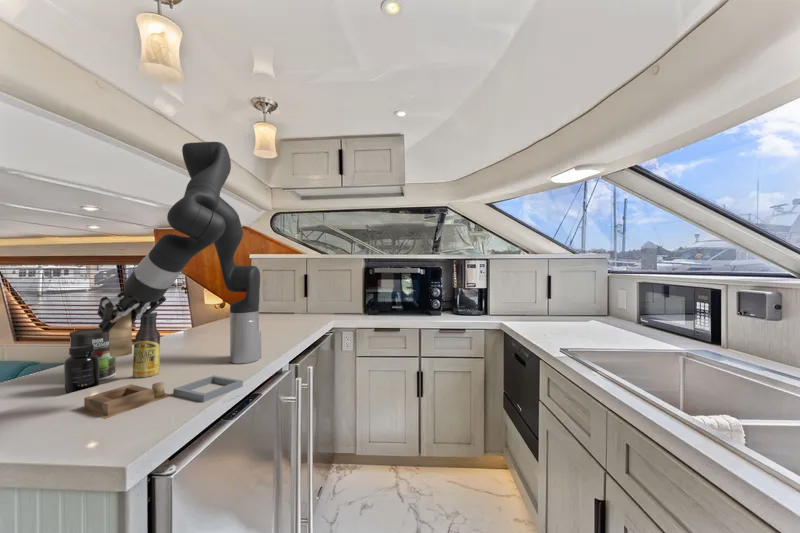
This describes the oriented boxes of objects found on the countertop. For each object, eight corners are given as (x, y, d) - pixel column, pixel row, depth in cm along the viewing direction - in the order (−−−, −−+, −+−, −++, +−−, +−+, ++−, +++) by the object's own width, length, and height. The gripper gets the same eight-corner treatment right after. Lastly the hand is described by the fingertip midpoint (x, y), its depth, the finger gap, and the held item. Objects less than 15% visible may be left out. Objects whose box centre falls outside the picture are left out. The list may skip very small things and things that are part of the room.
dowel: (125, 351, 80) (124, 296, 80) (136, 353, 79) (134, 297, 78) (105, 355, 76) (104, 298, 76) (115, 357, 75) (114, 299, 75)
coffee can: (120, 376, 102) (120, 329, 102) (73, 386, 94) (73, 335, 94) (111, 370, 108) (110, 326, 108) (66, 378, 100) (66, 331, 100)
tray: (213, 386, 93) (213, 375, 93) (242, 392, 89) (242, 380, 89) (173, 400, 83) (173, 388, 83) (203, 408, 79) (203, 395, 79)
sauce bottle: (128, 384, 95) (127, 314, 95) (139, 377, 101) (138, 311, 101) (155, 382, 96) (154, 313, 96) (164, 375, 102) (163, 310, 102)
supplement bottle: (64, 390, 90) (64, 345, 90) (98, 384, 95) (98, 341, 95) (64, 397, 86) (63, 350, 86) (100, 390, 90) (99, 345, 90)
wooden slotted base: (146, 394, 87) (145, 377, 87) (173, 400, 83) (173, 382, 83) (77, 416, 75) (76, 396, 75) (105, 425, 70) (104, 404, 70)
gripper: (173, 263, 82) (135, 311, 85) (111, 264, 69) (68, 321, 72) (191, 285, 81) (152, 333, 84) (132, 290, 67) (87, 347, 70)
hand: (113, 327), depth 78 cm, fingers closed on dowel, 4 cm apart
